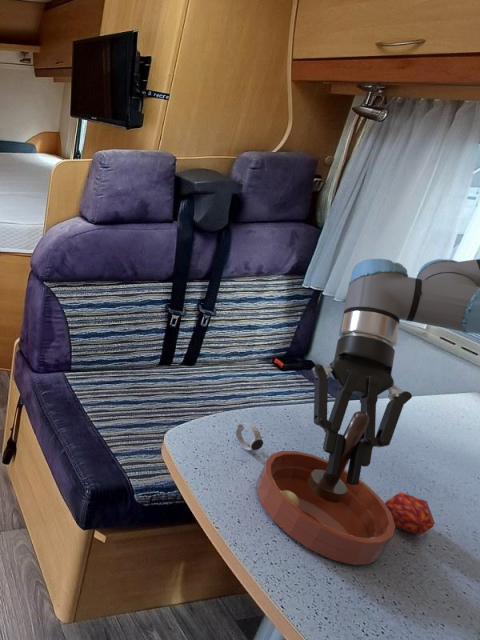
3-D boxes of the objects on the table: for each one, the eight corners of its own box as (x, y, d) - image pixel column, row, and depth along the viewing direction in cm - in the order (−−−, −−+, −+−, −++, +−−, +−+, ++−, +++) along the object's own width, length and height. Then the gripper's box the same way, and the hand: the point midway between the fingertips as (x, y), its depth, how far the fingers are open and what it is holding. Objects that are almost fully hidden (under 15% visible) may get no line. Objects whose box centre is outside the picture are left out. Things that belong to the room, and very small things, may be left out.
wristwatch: (247, 456, 90) (255, 436, 88) (229, 437, 95) (237, 418, 93) (259, 455, 91) (268, 435, 89) (241, 436, 95) (249, 417, 93)
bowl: (369, 504, 82) (382, 481, 80) (390, 590, 68) (407, 566, 66) (256, 458, 90) (265, 436, 88) (254, 526, 76) (265, 502, 74)
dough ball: (300, 499, 79) (299, 490, 78) (298, 516, 78) (297, 507, 76) (279, 493, 81) (278, 484, 80) (277, 509, 80) (275, 500, 78)
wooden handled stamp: (340, 487, 79) (380, 410, 73) (344, 508, 75) (387, 429, 69) (306, 473, 81) (342, 397, 75) (308, 493, 77) (346, 415, 71)
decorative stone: (412, 531, 80) (436, 554, 73) (367, 507, 83) (386, 527, 75) (430, 500, 79) (456, 520, 72) (384, 476, 82) (405, 493, 75)
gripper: (411, 364, 79) (391, 503, 72) (307, 335, 86) (280, 459, 79) (434, 352, 73) (415, 503, 66) (320, 321, 80) (292, 455, 73)
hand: (341, 479), depth 73 cm, fingers closed on wooden handled stamp, 2 cm apart
